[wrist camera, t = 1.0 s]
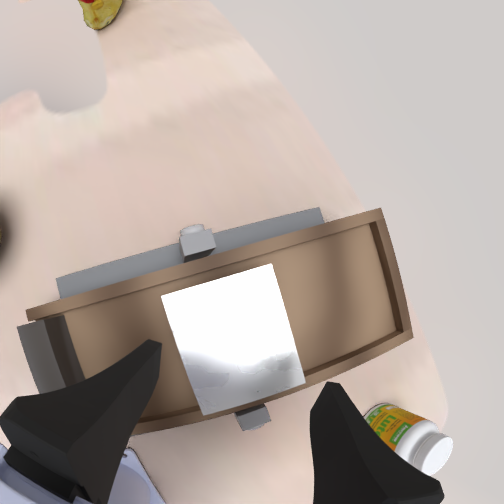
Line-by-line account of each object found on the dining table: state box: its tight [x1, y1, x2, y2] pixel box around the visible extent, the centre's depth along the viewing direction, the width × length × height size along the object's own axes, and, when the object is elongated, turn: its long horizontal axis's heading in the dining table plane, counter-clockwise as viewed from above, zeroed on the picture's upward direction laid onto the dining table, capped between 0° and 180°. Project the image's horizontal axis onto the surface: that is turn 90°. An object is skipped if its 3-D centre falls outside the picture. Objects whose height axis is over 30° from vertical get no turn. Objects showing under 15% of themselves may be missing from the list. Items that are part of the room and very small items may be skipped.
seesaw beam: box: [17, 208, 413, 435], centre depth 18 cm, size 26×10×4 cm, turn 107°
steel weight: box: [161, 264, 306, 416], centre depth 17 cm, size 6×7×4 cm
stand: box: [56, 207, 324, 436], centre depth 21 cm, size 23×14×6 cm, turn 107°
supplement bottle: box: [364, 403, 453, 476], centre depth 21 cm, size 5×5×10 cm
